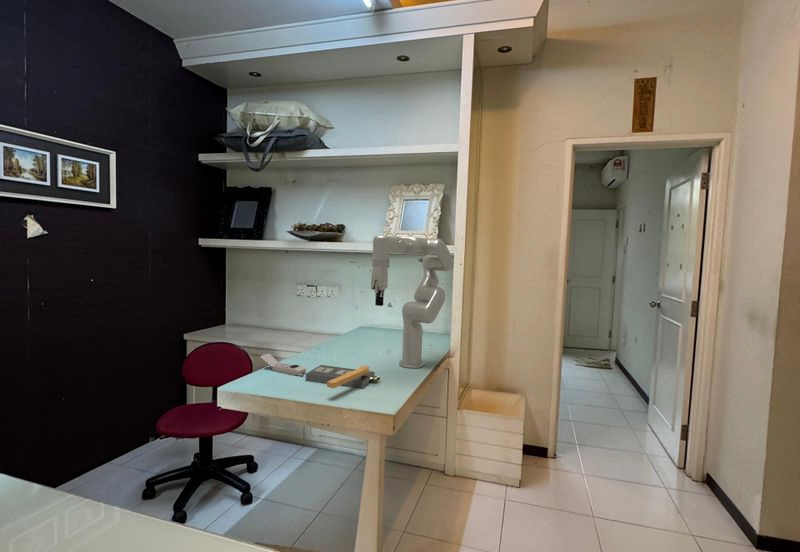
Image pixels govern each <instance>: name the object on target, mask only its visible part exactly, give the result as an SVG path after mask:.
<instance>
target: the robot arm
mask: <svg viewBox="0 0 800 552" xmlns="http://www.w3.org/2000/svg"><path fill="white" fill-rule="evenodd" d="M391 254H401V255H411V256H413V255H414V256H415V255H417V256H423V259H422V269H423V277H422V279H421V282H420V283H419V285H418V287H417V288H416V290H415V292H414V295H413V299H414V301H407V302H405V303H404V305H403V306H402V309H401V310H402V311H401V313H402V319H403V320H402V322H403V333H402V335H403V337H402V355H401V360H399V362H398V365H399V366H400V367H403V368H406V369H419V368H423V367H424V366H425V362H424V361H422V357H423V355H422V352H423V350H422V349H423V332H424V331H423V326H422V323H423V324H433V323H434V321H435V320H436V318H437V317H438V316H439V313H440V311H441V309H442V308H443V305H444V303H445V302H446V301H445V300H446V291H445V290H444V289H443V288H442V287H440V286H439V283H440V281H439V276H438V274H437V272H450V271H451V270H452V269H453V267H454V258H453V256H452V253H451V252H450V250H449V248H448V246H447V244H446V243H445V242H444V241H443V239H442V238H433V237H432V238H428V237H425V238H424V237H414V236H399V235H398V236H397V235H394V236H393V235H375V236H374V237H373V240H372V261H371V263H372V270H371V277H370V278H371V279H370V289H371V290H374V293H375V306H380V307H383V306H384V296H385V291H386V289H387V288H388V282H389V274H388V273H389V272H388V269H389V268H390V259H391Z"/></svg>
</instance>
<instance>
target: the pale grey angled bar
mask: <svg viewBox="0 0 800 552" xmlns="http://www.w3.org/2000/svg"><path fill="white" fill-rule="evenodd" d="M259 358H261V359H262V360H263V361H264V362H265V363H266V364H268V366H270V367H271V369H272V371H273V372H277V371H278V372H277V373H281V372H282V374H287V375H292V376H300V377H304V376H305V374H306V373H307V368H306V367H305V366H302V365H300V364H289V363H283V362H279V361H278V360H277V359H276V358H275V357H274V356H273V355H272V354H271V353H266V354H263V355H259ZM304 373H305V374H304Z"/></svg>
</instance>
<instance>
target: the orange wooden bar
mask: <svg viewBox="0 0 800 552" xmlns="http://www.w3.org/2000/svg"><path fill="white" fill-rule="evenodd" d="M355 369H356V370H354V371H352V372H349V373H347V374H344V375H342V376H340V377H337V378H335V379H333V380H330V381H328V382H327V384H326V385H327V386H326V387H327V388H330V389H335V388H339V387H340V385H342V384H345V383H347V382H349V381H351V380H353V379H356V378H358V377H360V376H362V375H365V374H369V371H370V366H367V365H363V366H360V367H359V368H355Z"/></svg>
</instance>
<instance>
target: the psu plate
mask: <svg viewBox="0 0 800 552" xmlns="http://www.w3.org/2000/svg"><path fill="white" fill-rule="evenodd" d="M356 369H357V368H349V367H348V368H347V367H340V366H331V365H326V364H325V365H324V364H320V365H319V366H317V367H314V368H313V369H311V370H310V371H307V372H305V381H307V382H313V383H320V384H326V385H327V382H328V381H330V380H333V379H335V378H337V377H340V376H342V375H344V374H347V373H349V372H352V371H354V370H356ZM371 376H374V377H375V376H376V375H375V371H371V370H369V374H365V375H362V376H360V377H358V378H356V379H353V380H351V381H349V382H347V383H345V384H342V385H340V386H342V387H348V388H355V389H361V390H362V389H364V388H365V387H366V386H367V385H369V384H370V383H369V379H370V377H371ZM340 386H339V387H340Z"/></svg>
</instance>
